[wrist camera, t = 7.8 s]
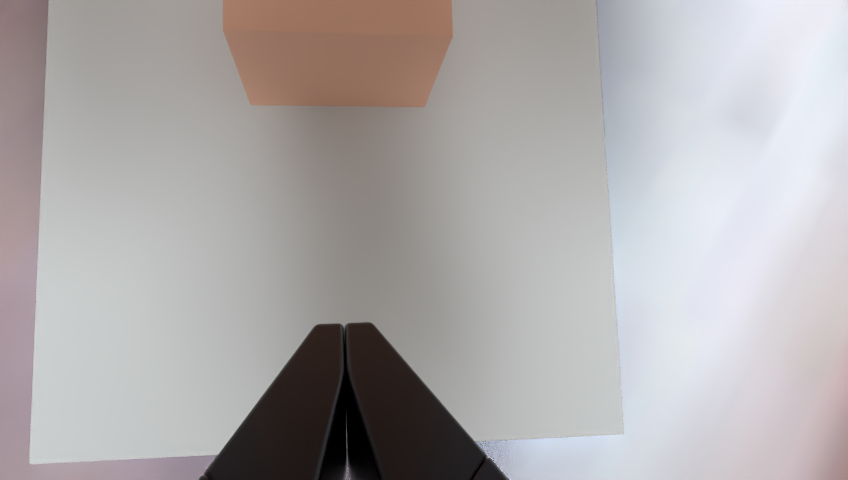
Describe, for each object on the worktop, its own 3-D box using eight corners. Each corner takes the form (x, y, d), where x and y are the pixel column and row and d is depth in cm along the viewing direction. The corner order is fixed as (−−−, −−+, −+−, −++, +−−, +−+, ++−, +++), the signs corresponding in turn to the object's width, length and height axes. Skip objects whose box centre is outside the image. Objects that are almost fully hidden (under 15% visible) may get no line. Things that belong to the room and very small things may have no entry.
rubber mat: (615, 431, 21) (624, 434, 20) (39, 460, 18) (29, 464, 18) (569, -296, 24) (575, -312, 23) (71, -340, 22) (64, -359, 21)
